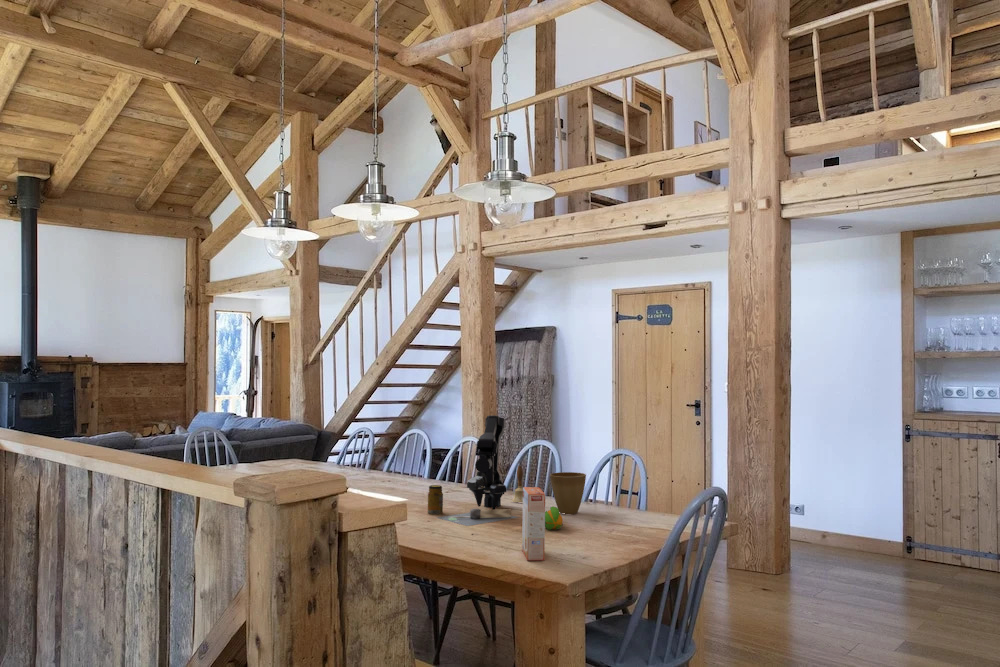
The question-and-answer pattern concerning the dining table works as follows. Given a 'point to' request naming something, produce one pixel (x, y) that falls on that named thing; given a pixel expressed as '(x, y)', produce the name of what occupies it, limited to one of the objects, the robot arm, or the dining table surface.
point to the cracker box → (533, 524)
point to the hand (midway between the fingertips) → (486, 508)
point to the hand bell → (519, 487)
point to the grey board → (472, 521)
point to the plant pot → (568, 490)
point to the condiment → (435, 500)
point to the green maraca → (553, 519)
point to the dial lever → (488, 513)
